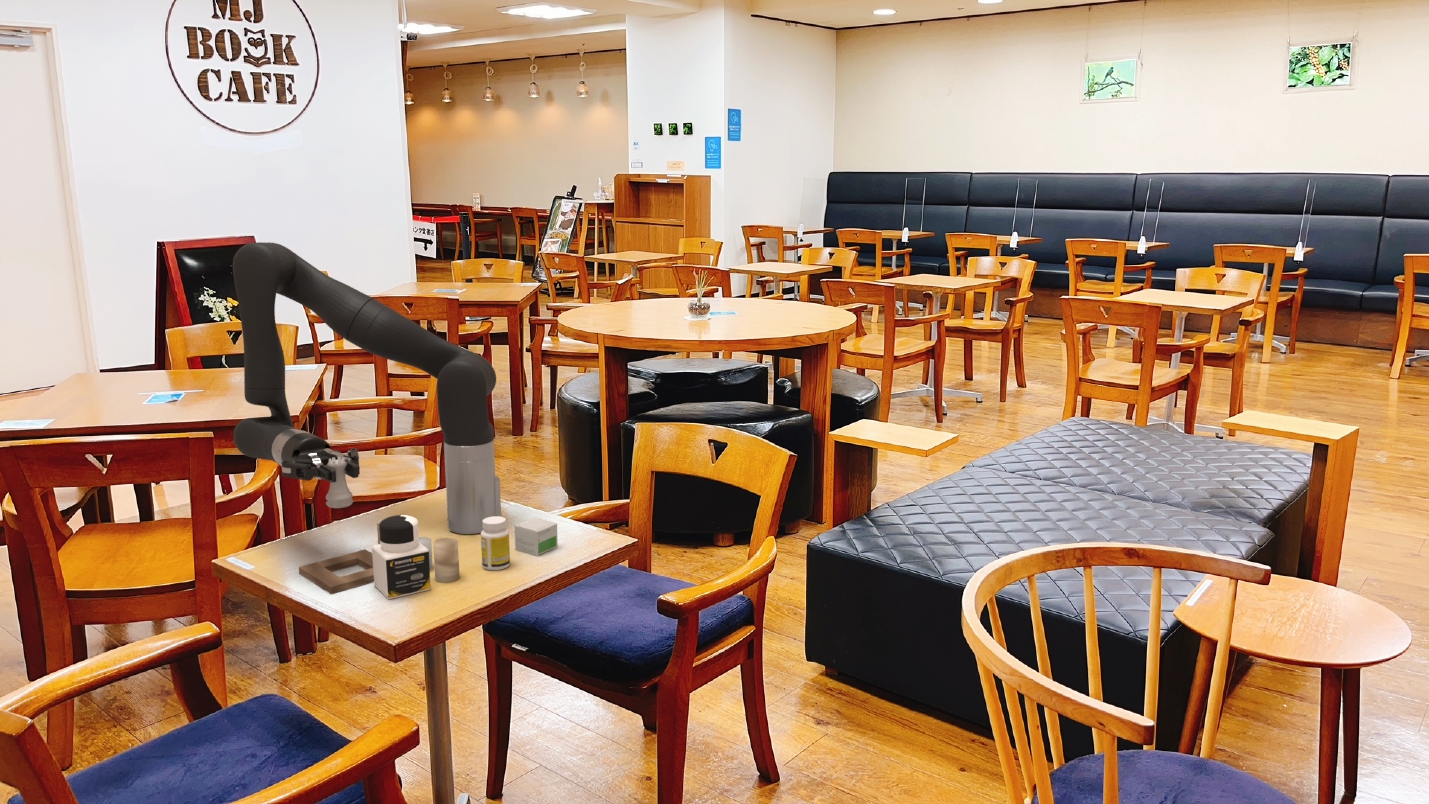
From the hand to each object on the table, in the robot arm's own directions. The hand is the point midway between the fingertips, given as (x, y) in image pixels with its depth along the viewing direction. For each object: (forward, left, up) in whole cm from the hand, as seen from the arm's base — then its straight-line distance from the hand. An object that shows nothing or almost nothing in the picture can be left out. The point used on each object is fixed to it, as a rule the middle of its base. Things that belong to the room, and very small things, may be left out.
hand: (345, 474), depth 170 cm
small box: (-30, +11, -18) cm, 37 cm away
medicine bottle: (-3, +11, -18) cm, 21 cm away
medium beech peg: (-11, +12, -18) cm, 24 cm away
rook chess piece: (0, -3, -6) cm, 7 cm away
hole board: (0, -1, -18) cm, 18 cm away
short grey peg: (-10, +5, -18) cm, 21 cm away
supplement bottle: (-20, +13, -18) cm, 30 cm away
